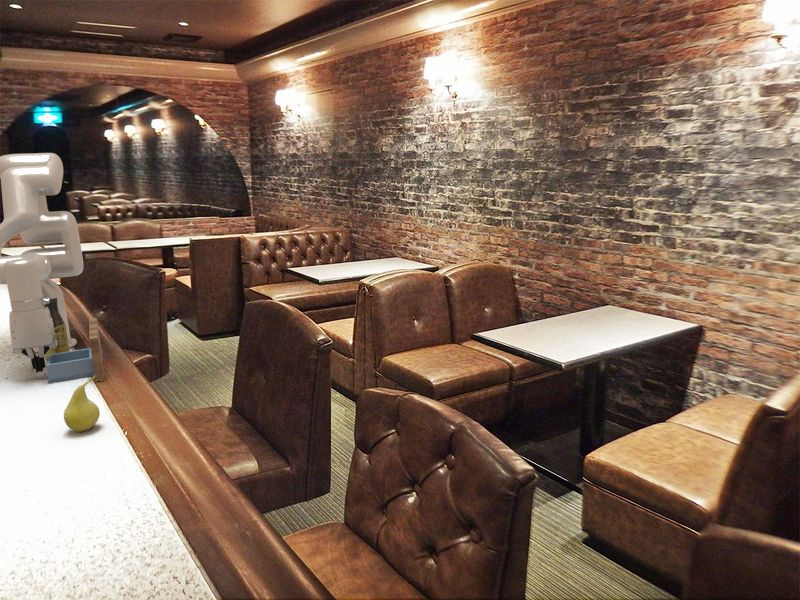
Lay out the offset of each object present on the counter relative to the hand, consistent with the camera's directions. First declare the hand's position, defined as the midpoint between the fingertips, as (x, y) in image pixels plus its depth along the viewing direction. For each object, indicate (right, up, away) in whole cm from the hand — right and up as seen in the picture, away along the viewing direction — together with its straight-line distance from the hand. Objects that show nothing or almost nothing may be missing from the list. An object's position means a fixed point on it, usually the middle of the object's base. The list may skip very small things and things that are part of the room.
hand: (39, 370), depth 172 cm
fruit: (+29, -9, -33) cm, 45 cm away
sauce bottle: (-1, 0, +12) cm, 12 cm away
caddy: (+7, -1, +4) cm, 8 cm away
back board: (+13, 0, +7) cm, 15 cm away
